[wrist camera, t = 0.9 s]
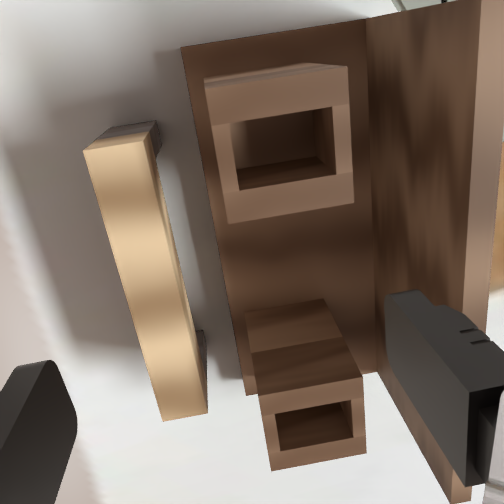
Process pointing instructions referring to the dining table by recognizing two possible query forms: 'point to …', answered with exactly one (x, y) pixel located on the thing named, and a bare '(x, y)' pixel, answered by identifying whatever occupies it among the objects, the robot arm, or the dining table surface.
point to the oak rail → (149, 265)
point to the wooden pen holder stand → (349, 204)
